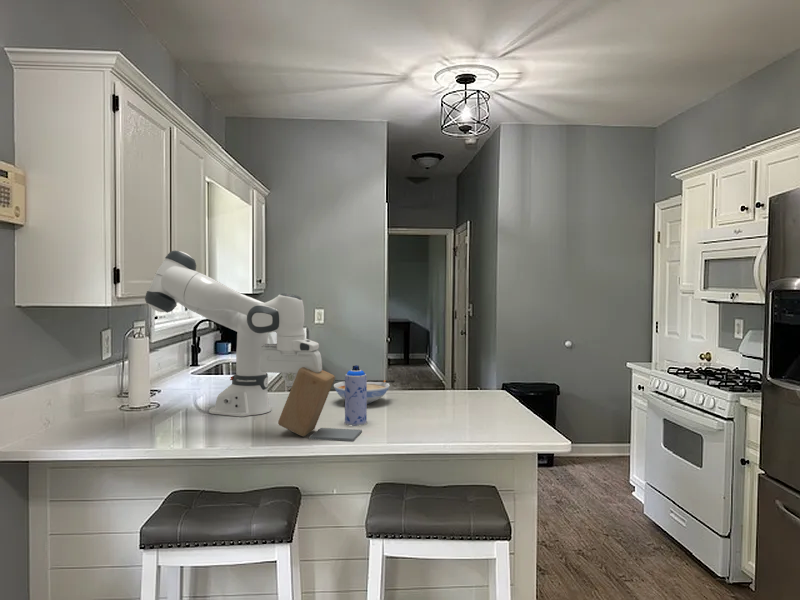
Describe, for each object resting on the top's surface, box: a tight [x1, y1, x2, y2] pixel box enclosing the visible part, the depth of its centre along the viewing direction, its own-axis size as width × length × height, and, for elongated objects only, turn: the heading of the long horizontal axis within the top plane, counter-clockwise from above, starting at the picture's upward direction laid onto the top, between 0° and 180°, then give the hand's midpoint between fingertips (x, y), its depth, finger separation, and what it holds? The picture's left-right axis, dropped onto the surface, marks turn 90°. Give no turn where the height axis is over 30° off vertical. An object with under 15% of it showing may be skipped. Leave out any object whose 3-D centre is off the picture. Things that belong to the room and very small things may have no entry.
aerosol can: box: [344, 365, 368, 427], centre depth 203 cm, size 8×8×20 cm
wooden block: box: [277, 367, 336, 437], centre depth 188 cm, size 10×10×20 cm
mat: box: [309, 427, 363, 442], centre depth 186 cm, size 14×11×1 cm
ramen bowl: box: [333, 379, 396, 405], centre depth 236 cm, size 25×23×8 cm
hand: (290, 386), depth 188 cm, fingers closed
